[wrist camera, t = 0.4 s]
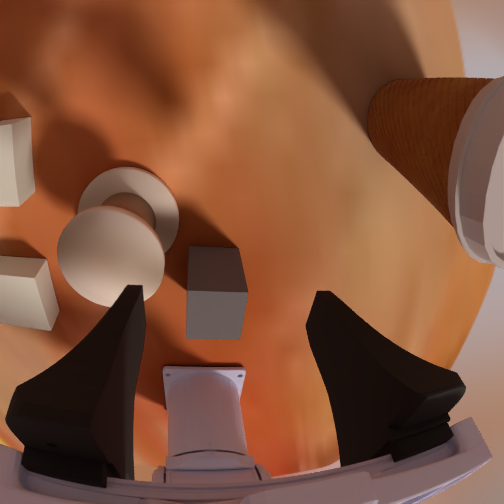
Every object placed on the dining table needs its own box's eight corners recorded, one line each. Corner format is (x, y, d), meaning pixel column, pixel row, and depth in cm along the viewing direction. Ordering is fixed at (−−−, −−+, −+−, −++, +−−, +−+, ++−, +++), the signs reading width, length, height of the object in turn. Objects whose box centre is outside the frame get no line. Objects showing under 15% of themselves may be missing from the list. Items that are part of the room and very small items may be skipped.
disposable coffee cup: (334, 176, 21) (442, 283, 11) (355, 40, 16) (505, 38, 6) (435, 190, 22) (541, 273, 12) (459, 79, 17) (589, 120, 7)
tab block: (232, 292, 25) (239, 339, 20) (186, 290, 24) (186, 338, 20) (238, 248, 23) (248, 292, 18) (188, 245, 22) (187, 290, 18)
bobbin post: (177, 263, 22) (173, 317, 18) (85, 258, 21) (62, 309, 16) (182, 168, 19) (175, 203, 14) (77, 166, 17) (40, 200, 13)
